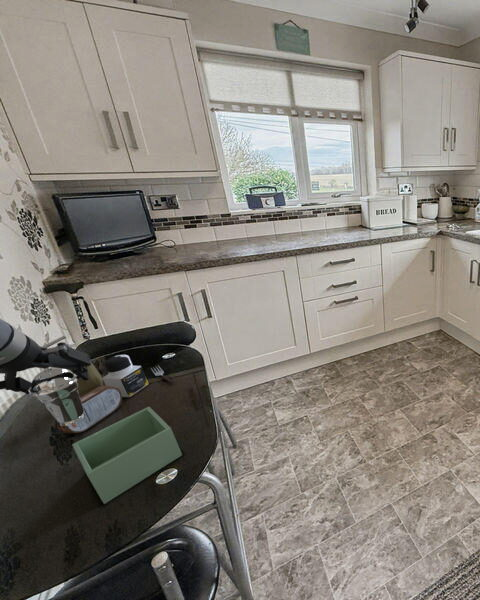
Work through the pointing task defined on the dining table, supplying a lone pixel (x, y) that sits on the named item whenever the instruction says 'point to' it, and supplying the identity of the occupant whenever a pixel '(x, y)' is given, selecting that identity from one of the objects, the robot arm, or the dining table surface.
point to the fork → (161, 374)
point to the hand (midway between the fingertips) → (60, 382)
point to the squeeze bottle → (93, 381)
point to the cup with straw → (58, 392)
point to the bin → (126, 452)
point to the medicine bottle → (124, 375)
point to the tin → (95, 408)
